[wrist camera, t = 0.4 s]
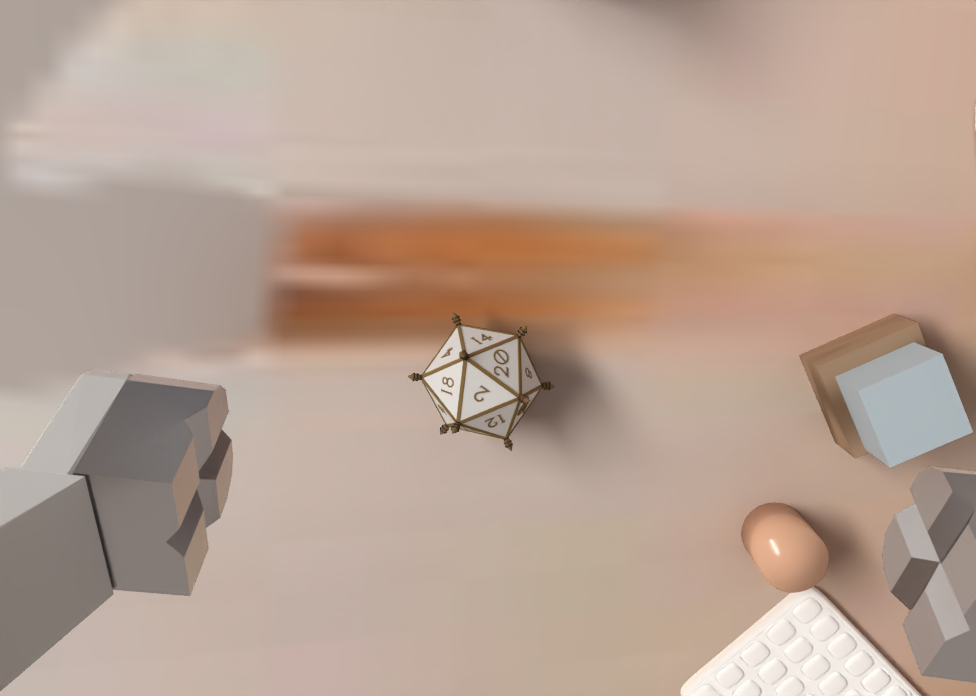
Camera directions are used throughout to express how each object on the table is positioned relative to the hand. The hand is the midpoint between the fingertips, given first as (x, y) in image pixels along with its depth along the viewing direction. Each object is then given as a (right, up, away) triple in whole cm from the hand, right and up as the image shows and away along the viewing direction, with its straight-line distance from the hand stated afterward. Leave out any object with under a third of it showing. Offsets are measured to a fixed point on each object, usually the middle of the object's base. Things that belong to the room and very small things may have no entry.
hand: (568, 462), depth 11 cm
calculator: (+25, -27, +59) cm, 69 cm away
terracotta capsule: (+20, -12, +55) cm, 60 cm away
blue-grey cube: (+26, -2, +49) cm, 56 cm away
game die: (-1, 0, +53) cm, 53 cm away
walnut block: (+26, -1, +53) cm, 59 cm away
